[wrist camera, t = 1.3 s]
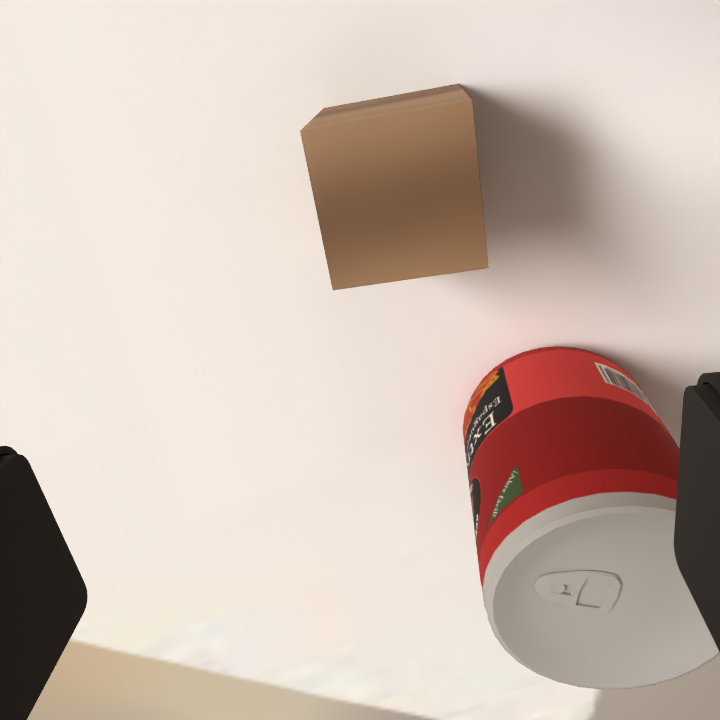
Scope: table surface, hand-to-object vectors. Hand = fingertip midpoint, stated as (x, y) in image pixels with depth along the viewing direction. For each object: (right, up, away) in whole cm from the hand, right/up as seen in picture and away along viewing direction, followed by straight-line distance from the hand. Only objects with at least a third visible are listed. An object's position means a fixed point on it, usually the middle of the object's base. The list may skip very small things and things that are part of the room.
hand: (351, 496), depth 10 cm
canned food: (+9, -1, +21) cm, 22 cm away
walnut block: (+2, +9, +16) cm, 19 cm away
